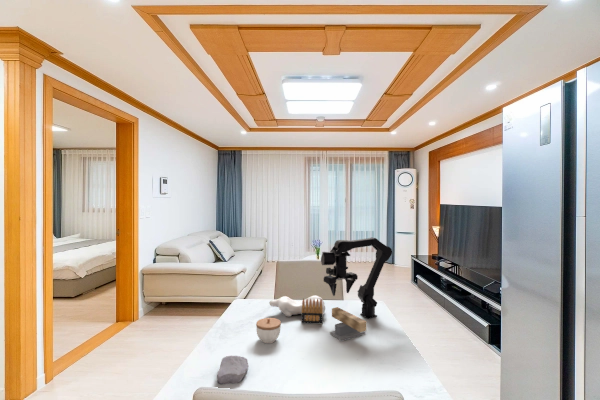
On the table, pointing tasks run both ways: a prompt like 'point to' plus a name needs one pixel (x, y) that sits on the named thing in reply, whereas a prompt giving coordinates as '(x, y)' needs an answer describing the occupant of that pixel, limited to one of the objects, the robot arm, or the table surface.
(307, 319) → the ammunition clip
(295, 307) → the torso sculpture
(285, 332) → the table surface
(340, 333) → the grey stepped block
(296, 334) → the table surface
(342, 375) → the table surface
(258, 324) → the lidded jar
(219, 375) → the stone block
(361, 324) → the beam
